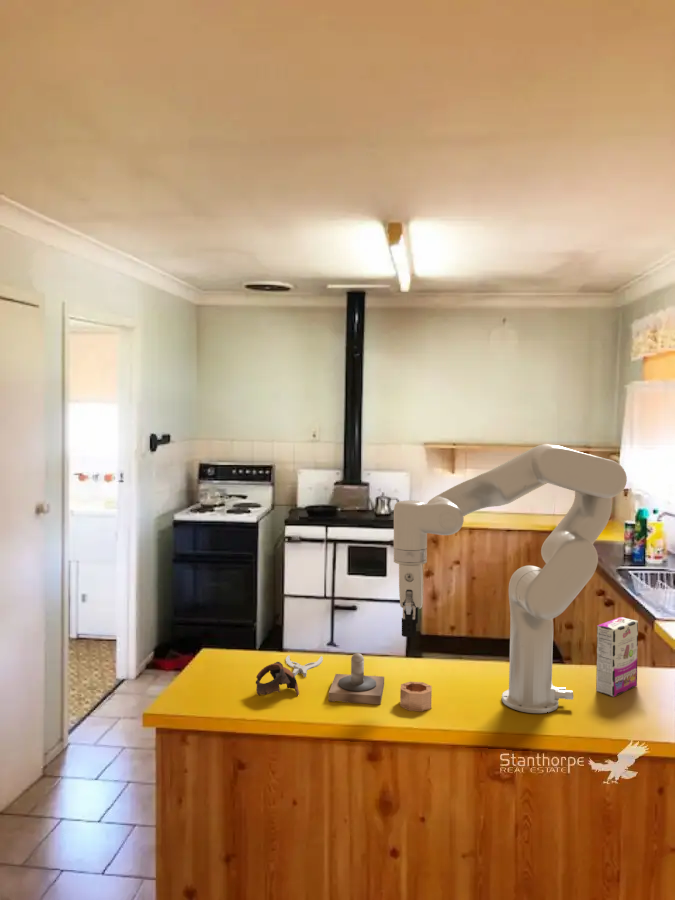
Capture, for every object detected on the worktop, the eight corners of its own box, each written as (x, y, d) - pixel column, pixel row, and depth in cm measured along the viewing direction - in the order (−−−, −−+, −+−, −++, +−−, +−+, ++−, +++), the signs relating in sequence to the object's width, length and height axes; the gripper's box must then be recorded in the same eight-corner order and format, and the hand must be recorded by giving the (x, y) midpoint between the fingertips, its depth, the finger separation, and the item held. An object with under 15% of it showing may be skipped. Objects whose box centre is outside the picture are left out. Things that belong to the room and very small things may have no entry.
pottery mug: (303, 703, 167) (288, 676, 164) (267, 720, 167) (250, 694, 164) (299, 671, 178) (284, 646, 175) (264, 688, 178) (249, 663, 175)
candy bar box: (618, 680, 181) (620, 616, 180) (637, 686, 177) (639, 620, 176) (594, 691, 174) (596, 624, 173) (613, 697, 170) (615, 629, 169)
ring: (431, 699, 168) (431, 682, 168) (431, 712, 161) (431, 694, 161) (401, 697, 169) (401, 681, 168) (399, 710, 162) (400, 692, 162)
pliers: (323, 653, 196) (318, 673, 181) (323, 658, 196) (318, 679, 181) (287, 652, 196) (279, 672, 181) (287, 658, 196) (279, 678, 181)
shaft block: (384, 684, 177) (384, 646, 176) (380, 704, 165) (381, 663, 164) (335, 681, 178) (335, 644, 178) (328, 701, 166) (328, 660, 166)
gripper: (426, 564, 154) (425, 642, 155) (427, 548, 172) (427, 619, 172) (391, 563, 156) (390, 641, 156) (396, 547, 173) (395, 618, 174)
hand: (409, 629), depth 164 cm, fingers open, 9 cm apart
